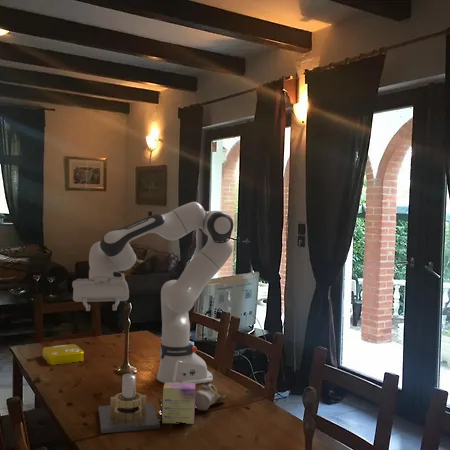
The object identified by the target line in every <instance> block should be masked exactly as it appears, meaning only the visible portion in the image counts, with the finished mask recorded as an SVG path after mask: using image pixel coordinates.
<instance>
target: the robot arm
mask: <svg viewBox="0 0 450 450" xmlns="http://www.w3.org/2000/svg"><path fill="white" fill-rule="evenodd" d="M196 230H199V231H200V232H201V233H202V234H203V235H205V236H207V237H208V238H207V241H206V243H205V245H204V246H203V247H202V248H201V249H200V250H199V251H198V252H197V253H196V254H195V256H194V257H193V258H192V259H191V260H190V261H189V262H188V263H187V264H186V266H185V268H184V270H183V271H182V273H181V274H180V276H179V278H177V279H171V280H168V281H165V283H163V285H162V287H161V290H160V308H161V321H162V322H161V323H162V325H161V326H162V327H161V343H160V347H159V348H160V349H159V357H160V363H159V368H158V371H157V376H156V380H157V381H159V382H161V383H163V384H165V382H170V383H195V385H197V384H204V383H206V382H208V383H211V382H212V381H213V380H214V379H213V374H212V373H211V371H209V370H208V367H207V363H206V361H205V360H204V359H203V358H202V357H200V356H199V355H197V353H196V352H198V350H197V349H198V348H197V346H195V345H194V344H192V343H191V342H190V331H191V329H190V328H191V323H190V317H189V315H190V314H189V312H190V311H191V310H192V308H193V307H194V305H195V302H196V301H197V299H198V298H199V296H200V295H201V294H202V292H203V290H204V289H205V287H206V286H207V285H208V284H209V282H210V281H211V280H212V279H213V278H214V277H215V275H216V274H217V273H218V272H219V271H220V270H221V269H222V267H223V266H225V263H226V262H227V261H228V259H229V258H230V257H231V255H232V254H233V251H234V249H233V245H232V243H231V242H230V239H231V237H232V233H233V231H234V221H233V218H232V217H231V216H230V214H229V213H227V212H225V211H220V210H205V208H204V206H202V205H201V204H200V203H199V202H197V201H191V202H188V203H185V204H183V205H180V206H178V207H177V208H175V209H173V210H171V211H169V212H166V213H163V214H159V213H158V214H152V215H149V216H147V217H144V218H141V219H139V220H136V221H134V222H132V223H129V224H127V225H125V226H123V227H120V228H116V229H111V230H109V231H107V232H105V233H104V234H103V236H102V237H101V239H100V241H97V242H95V243H93V244H92V245H91V247H90V250H89V255H88V265H89V269H88V278H76V279H75V280H74V279H73V281H72V283H71V287H72V288H73V291H72V293H73V294H72V300H73V301H74V302H75V303H76V302H77V303H79V302H81V303H82V305H83V306H84V307H85V312H90V311H91V304H88V302H92V303H93V302H94V303H95V302H115V303H113V304H112V311H117V310H118V306H119V304H120V302H127V301H128V300H129V298H130V289H129V285H128V283H127V282H128V281H126V278H125V274H124V273H123V272H126V271H129V270H131V269H132V268H133V267H134V266H135V264H136V263H137V258H138V257H137V255H136V253H135V250H134V249H133V248H132V246H131V244H130V242H132V241H134V240H136V239H138V238H140V237H143V236H145V235H147V234H152V233H153V234H156V235H158V236H159V237H161V238H163V239H165V240H167V241H177V240H179V239H181V238H183V237H185V236H186V235H188V234H190V233H191V232H193V231H196Z"/></svg>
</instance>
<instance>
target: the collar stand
mask: <svg viewBox="0 0 450 450" xmlns="http://www.w3.org/2000/svg"><path fill="white" fill-rule="evenodd" d="M135 407H136V408H135ZM121 408H135V412H133V413H121V411H122V410H121ZM98 417H99V426H100V434H113V433H120V432H121V433H125V432H137V431H147V430H148V431H149V430H159V429H160V428H161V427H160V425H161V424H160V421H159V418H158V416H157V413H156V410H155V407H154V405H153V402H151V401H150V402H147V395H146V394H142V393H140V392H137V391H136V398H135V400H133V401H123V400H122V392H119V393H117V394H115V395H114V396H111V397H110V404H109V405H99V406H98Z"/></svg>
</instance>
